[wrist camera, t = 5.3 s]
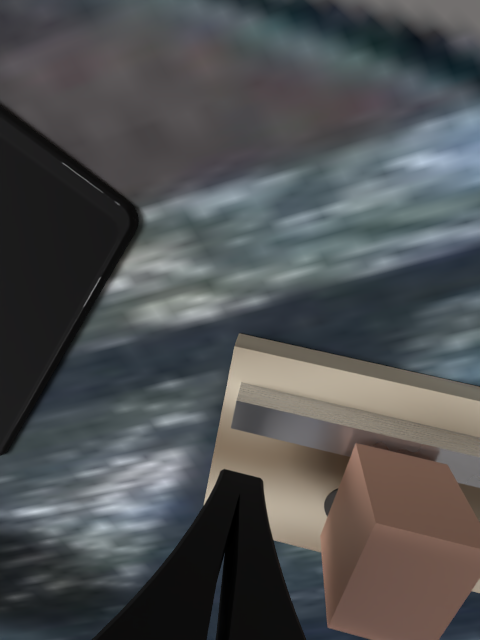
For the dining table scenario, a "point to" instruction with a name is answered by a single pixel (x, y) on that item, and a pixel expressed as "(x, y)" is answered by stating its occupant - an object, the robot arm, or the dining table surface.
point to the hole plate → (317, 465)
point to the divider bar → (352, 430)
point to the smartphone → (48, 261)
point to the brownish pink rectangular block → (398, 547)
